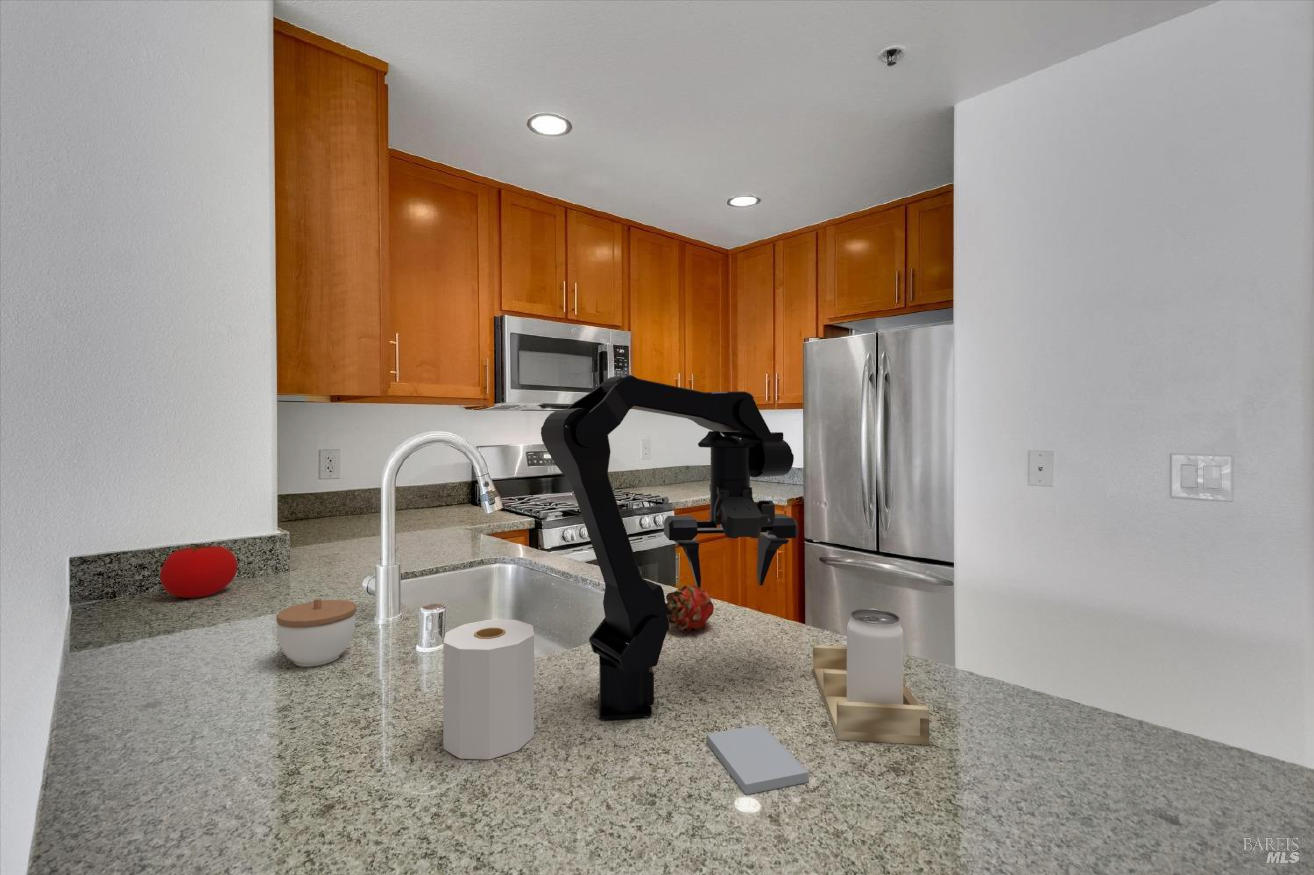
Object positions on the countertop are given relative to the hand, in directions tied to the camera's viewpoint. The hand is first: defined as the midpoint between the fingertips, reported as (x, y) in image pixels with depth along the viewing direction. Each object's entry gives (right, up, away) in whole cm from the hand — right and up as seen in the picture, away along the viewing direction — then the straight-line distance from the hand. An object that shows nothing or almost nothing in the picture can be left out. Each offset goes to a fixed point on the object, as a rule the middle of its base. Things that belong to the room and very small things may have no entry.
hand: (729, 586), depth 85 cm
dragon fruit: (-5, -13, +21) cm, 25 cm away
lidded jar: (-63, -13, +6) cm, 65 cm away
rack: (+16, -13, -9) cm, 23 cm away
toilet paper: (-30, -13, -17) cm, 37 cm away
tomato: (-109, -13, +41) cm, 117 cm away
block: (0, -13, -22) cm, 26 cm away
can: (+16, -12, -13) cm, 24 cm away
